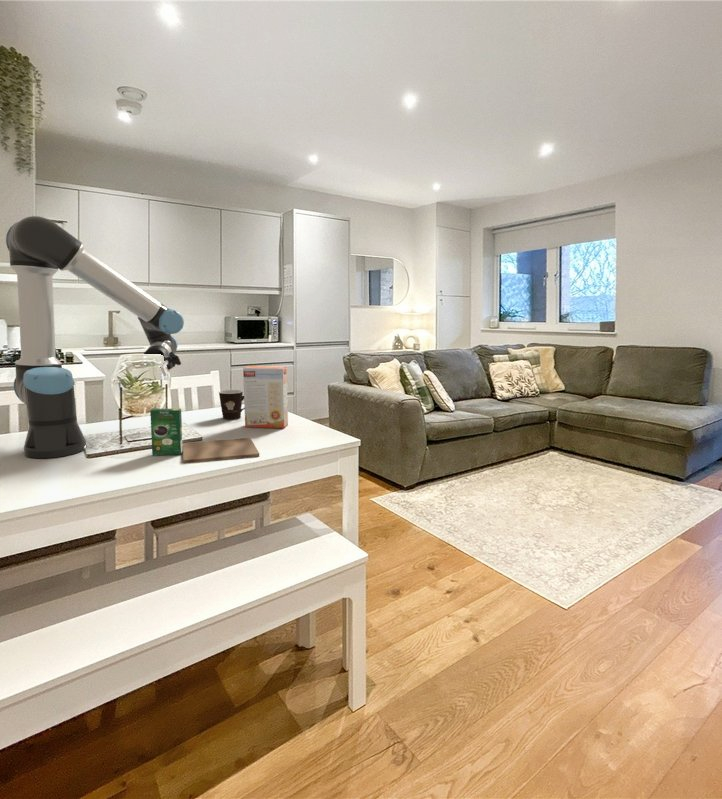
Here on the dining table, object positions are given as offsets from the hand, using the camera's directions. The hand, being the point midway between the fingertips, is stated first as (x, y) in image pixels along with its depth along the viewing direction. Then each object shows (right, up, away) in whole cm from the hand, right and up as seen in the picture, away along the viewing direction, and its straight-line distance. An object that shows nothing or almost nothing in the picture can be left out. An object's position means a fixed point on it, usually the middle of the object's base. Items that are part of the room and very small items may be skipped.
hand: (140, 378), depth 143 cm
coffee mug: (+17, -13, +43) cm, 48 cm away
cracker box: (+31, -16, +31) cm, 46 cm away
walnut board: (+23, -21, +1) cm, 31 cm away
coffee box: (+9, -22, -3) cm, 24 cm away
